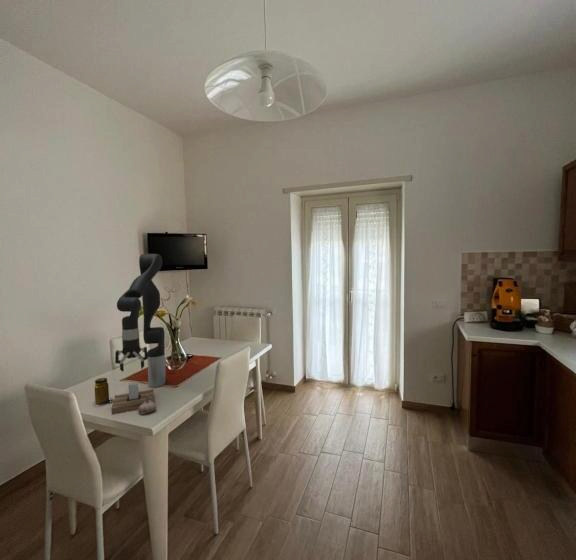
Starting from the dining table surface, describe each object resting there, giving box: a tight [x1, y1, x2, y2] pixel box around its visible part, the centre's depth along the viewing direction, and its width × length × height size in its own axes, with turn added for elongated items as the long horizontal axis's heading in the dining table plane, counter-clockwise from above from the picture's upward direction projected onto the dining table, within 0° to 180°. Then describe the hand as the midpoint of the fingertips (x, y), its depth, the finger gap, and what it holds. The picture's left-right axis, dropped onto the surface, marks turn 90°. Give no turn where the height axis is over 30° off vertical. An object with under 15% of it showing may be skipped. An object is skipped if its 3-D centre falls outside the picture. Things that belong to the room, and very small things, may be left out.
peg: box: [128, 381, 139, 401], centre depth 154 cm, size 4×4×10 cm
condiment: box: [93, 377, 114, 408], centre depth 157 cm, size 7×8×12 cm
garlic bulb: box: [137, 395, 157, 415], centre depth 146 cm, size 8×7×8 cm
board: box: [111, 388, 155, 415], centre depth 155 cm, size 15×18×3 cm
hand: (132, 369), depth 154 cm, fingers open, 8 cm apart
